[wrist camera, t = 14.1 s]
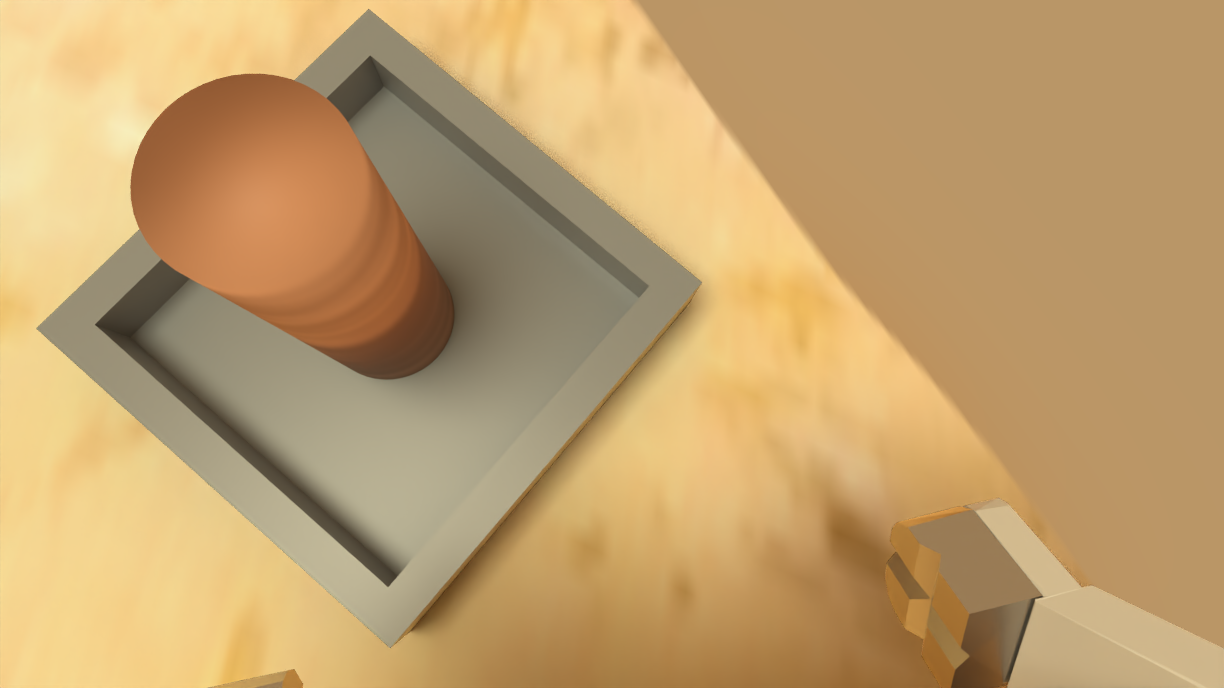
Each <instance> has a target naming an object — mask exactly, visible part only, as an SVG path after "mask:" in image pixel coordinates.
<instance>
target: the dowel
mask: <svg viewBox="0 0 1224 688" xmlns="http://www.w3.org/2000/svg"><path fill="white" fill-rule="evenodd" d="M131 201H132V206H133V212H134V215H135V218H136V221H137V224H138V227H139V229H140V231H141V232H142V234H143V236H144V238H145V240H146V241H147V243H148V244H149V245H150V247H151V248H152V249H153V251H154V252H155V253H156V254H157V255H158V256H159V257H160V258H161V259H162V260H163V261H164V262H165V263H167V264H168V265H169V266H170V267H172V268H173V269H174V270H176V271H178V272H179V273H181V274H183V275H185V276H186V277H188V278H190V279H192V280H193V281H195V282H197V283H199V284H201V285H202V286H204V287H206V288H208V289H209V290H211V291H213V292H215V293H217V294H218V295H220V296H222V297H224V298H225V299H227V300H229V301H231V302H233V303H234V304H236V305H238V306H240V307H241V308H243V309H245V310H247V311H249V312H250V313H252V314H254V315H256V316H257V317H259V318H261V319H263V320H265V321H266V322H268V323H270V324H272V325H273V326H275V327H277V328H279V329H281V330H282V331H284V332H286V333H288V334H289V335H291V336H293V337H295V338H297V339H298V340H300V341H302V342H304V343H305V344H307V345H309V346H311V347H313V348H314V349H316V350H318V351H320V352H321V353H323V354H325V355H327V356H328V357H330V358H332V359H334V360H336V361H337V362H339V363H341V364H343V365H344V366H346V367H348V368H350V369H352V370H353V371H355V372H357V373H359V374H361V375H364V376H366V377H370V378H374V379H383V380H389V379H399V378H403V377H407V376H410V375H412V374H415V373H417V372H419V371H421V370H422V369H424V368H426V367H427V366H428V365H429V364H431V363H432V362H433V361H434V360H435V359H436V358H437V357H438V356H439V355H440V353H441V352H442V351H443V349H444V348H445V346H446V344H447V343H448V340H449V338H450V336H451V333H452V329H453V324H454V304H453V300H452V296H451V293H450V291H449V288H448V286H447V285H446V283H445V281H444V280H443V278H442V276H441V275H440V273H439V271H438V270H437V268H436V267H435V265H434V263H433V262H432V260H431V258H430V257H429V255H428V253H427V252H426V250H425V248H424V247H423V245H422V243H421V242H420V240H419V239H418V237H417V235H416V234H415V232H414V230H413V229H412V227H411V225H410V224H409V222H408V220H407V219H406V217H405V216H404V214H403V212H402V211H401V209H400V207H399V206H398V204H397V202H396V201H395V199H394V197H393V196H392V194H391V193H390V191H389V189H388V188H387V186H386V184H385V183H384V181H383V179H382V178H381V176H380V174H379V173H378V171H377V169H376V168H375V166H374V165H373V163H372V161H371V160H370V158H369V156H368V155H367V153H366V151H365V150H364V148H363V146H362V145H361V143H360V142H359V140H358V138H357V137H356V135H355V133H354V132H353V130H352V128H351V127H350V125H349V123H348V122H347V120H346V119H345V118H344V116H343V115H342V114H341V112H340V111H339V110H338V109H337V108H336V107H335V106H334V105H333V104H332V103H331V102H330V101H329V100H328V99H326V98H325V97H324V96H322V95H321V94H320V93H318V92H317V91H315V90H313V89H311V88H310V87H308V86H306V85H304V84H302V83H299V82H296V81H294V80H291V79H288V78H284V77H280V76H275V75H267V74H241V75H233V76H228V77H224V78H220V79H216V80H213V81H211V82H208V83H205V84H203V85H201V86H199V87H197V88H195V89H193V90H191V91H189V92H187V93H186V94H184V95H183V96H181V97H180V98H178V99H177V100H176V101H175V102H173V103H172V104H171V105H170V106H169V107H167V108H166V109H165V110H164V111H163V112H162V114H161V115H160V116H159V117H158V118H157V119H156V120H155V121H154V123H153V124H152V126H151V127H150V128H149V130H148V131H147V133H146V135H145V137H144V138H143V140H142V142H141V144H140V146H139V149H138V152H137V154H136V157H135V160H134V165H133V169H132V175H131Z"/></svg>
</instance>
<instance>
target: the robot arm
mask: <svg viewBox="0 0 1224 688" xmlns="http://www.w3.org/2000/svg"><path fill="white" fill-rule="evenodd" d="M890 542H891V544H892V545H893V547H894V548H895V550H896V553H895V554H894V555H893V556H892V557H891V558H890V559H889V560H888V562H887V563H886V573H885V582H886V587H887V591H888V596H889V599H890V602H891V604H892V607H893V609H894V611H895V613H896V615H897V617H898V618H899V620H900V622H901V624H902V625H903V627H904V629H906V630H908V631H909V632H911V633H913V634H915V635H916V636H918V637H920V638H921V639H923V648H922V658H923V660H924V661H925V663H926V665H927V666H928V668H929V669H930V671H931V673H932V674H933V676H934V677H935V679H936V681H937V682H938V684H939V685H940V687H941V688H996V687H1000V686H1005V685H1008V686H1007V688H1224V648H1222V647H1220V646H1218V645H1216V644H1214V643H1212V642H1210V641H1208V640H1206V639H1204V638H1202V637H1199V636H1197V635H1195V634H1193V633H1191V632H1189V631H1187V630H1185V629H1183V628H1180V627H1179V626H1177V625H1174V624H1172V623H1170V622H1168V621H1166V620H1164V619H1162V618H1160V617H1158V616H1156V615H1154V614H1152V613H1149V612H1147V611H1145V610H1143V609H1141V608H1139V607H1137V606H1135V605H1133V604H1131V603H1129V602H1126V601H1125V600H1122V599H1120V598H1118V597H1116V596H1114V595H1112V594H1110V593H1108V592H1106V591H1104V590H1102V589H1100V588H1097V587H1095V586H1093V585H1089V586H1085V587H1081V585H1080V584H1079V583H1078V582H1077V581H1076V580H1075V579H1074V578H1073V576H1072V575H1071V574H1070V573H1069V572H1068V571H1067V570H1066V568H1065V567H1064V566H1063V565H1062V564H1061V563H1060V562H1059V561H1058V559H1057V558H1056V557H1055V556H1054V555H1053V554H1052V553H1051V552H1050V550H1049V549H1048V548H1047V547H1046V546H1045V545H1044V544H1043V542H1042V541H1041V540H1040V539H1039V538H1038V537H1037V536H1036V535H1035V533H1034V532H1033V531H1032V530H1031V529H1030V528H1029V527H1028V525H1027V524H1026V523H1025V522H1024V521H1023V520H1022V519H1021V518H1020V516H1019V515H1018V514H1017V513H1016V512H1015V511H1014V510H1013V508H1012V507H1011V506H1010V505H1009V504H1008V503H1007V502H1005V501H1003V500H1002V499H1000V498H995V499H990V500H986V501H982V502H978V503H974V504H970V505H966V506H963V507H961V506H958V507H954V508H950V509H946V510H943V511H939V512H935V513H931V514H927V515H923V516H919V517H915V518H911V519H908V520H904V521H900V522H897V523H896V524H895V525H894V527H893V528H892V531H891V537H890ZM208 688H303V683H302V681H301V679H300V678H299V676H298V675H297V673H296V671H295V670H294V669H292V670H288V671H283V672H278V673H274V674H269V675H264V676H260V677H255V678H251V679H246V680H241V681H237V682H232V683H228V684H223V685H218V686H214V687H208Z"/></svg>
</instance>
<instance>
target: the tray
mask: <svg viewBox="0 0 1224 688" xmlns="http://www.w3.org/2000/svg"><path fill="white" fill-rule="evenodd" d="M294 81H296V82H299V83H302V84H304V85H306V86H308V87H310V88H311V89H313V90H315V91H317V92H318V93H320V94H321V95H322V96H324V97H325V98H326V99H328V100H329V101H330V102H331V103H332V104H333V105H334V106H335V107H336V108H337V109H338V110H339V111H340V112H341V114H342V115H343V116H344V118H345V119H346V120H347V122H348V123H349V125H350V127H351V128H352V130H353V132H354V133H355V135H356V137H357V138H358V140H359V142H360V143H361V145H362V146H363V148H364V150H365V151H366V153H367V155H368V156H369V158H370V160H371V161H372V163H373V165H374V166H375V168H376V169H377V171H378V173H379V174H380V176H381V178H382V179H383V181H384V183H385V184H386V186H387V188H388V189H389V191H390V193H391V194H392V196H393V197H394V199H395V201H396V202H397V204H398V206H399V207H400V209H401V211H402V212H403V214H404V216H405V217H406V219H407V220H408V222H409V224H410V225H411V227H412V229H413V230H414V232H415V234H416V235H417V237H418V239H419V240H420V242H421V243H422V245H423V247H424V248H425V250H426V252H427V253H428V255H429V257H430V258H431V260H432V262H433V263H434V265H435V267H436V268H437V270H438V271H439V273H440V275H441V276H442V278H443V280H444V281H445V283H446V285H447V286H448V288H449V291H450V293H451V296H452V300H453V304H454V324H453V329H452V333H451V336H450V338H449V340H448V343H447V344H446V346H445V348H444V349H443V351H442V352H441V353H440V355H439V356H438V357H437V358H436V359H435V360H434V361H433V362H432V363H431V364H429V365H428V366H427V367H426V368H424V369H422V370H421V371H419V372H417V373H415V374H412V375H410V376H407V377H403V378H399V379H389V380H383V379H374V378H370V377H366V376H364V375H361V374H359V373H357V372H355V371H353V370H352V369H350V368H348V367H346V366H344V365H343V364H341V363H339V362H337V361H336V360H334V359H332V358H330V357H328V356H327V355H325V354H323V353H321V352H320V351H318V350H316V349H314V348H313V347H311V346H309V345H307V344H305V343H304V342H302V341H300V340H298V339H297V338H295V337H293V336H291V335H289V334H288V333H286V332H284V331H282V330H281V329H279V328H277V327H275V326H273V325H272V324H270V323H268V322H266V321H265V320H263V319H261V318H259V317H257V316H256V315H254V314H252V313H250V312H249V311H247V310H245V309H243V308H241V307H240V306H238V305H236V304H234V303H233V302H231V301H229V300H227V299H225V298H224V297H222V296H220V295H218V294H217V293H215V292H213V291H211V290H209V289H208V288H206V287H204V286H202V285H201V284H199V283H197V282H195V281H193V280H192V279H190V278H188V277H186V276H185V275H183V274H181V273H179V272H178V271H176V270H174V269H173V268H172V267H170V266H169V265H168V264H167V263H165V262H164V261H163V260H162V259H161V258H160V257H159V256H158V255H157V254H156V253H155V252H154V251H153V249H152V248H151V247H150V245H149V244H148V243H147V241H146V240H145V238H144V236H143V234H142V232H141V231H140V229H139V230H138V231H137V232H136V233H135V234H134V235H133V236H132V237H131V238H130V239H129V240H128V241H127V242H126V243H125V244H124V245H123V246H122V247H120V248H119V249H118V250H117V251H116V252H115V253H114V254H113V255H112V256H111V257H110V258H109V259H108V260H107V261H106V262H105V263H104V264H103V265H102V266H101V267H100V268H99V269H98V270H97V271H95V272H94V273H93V274H92V275H91V276H90V277H89V278H88V279H87V280H86V281H85V282H84V283H83V284H82V285H81V286H80V287H79V288H78V289H77V290H76V291H75V292H74V293H73V294H72V295H71V296H69V297H68V298H67V299H66V300H65V301H64V302H63V303H62V304H61V305H60V306H59V307H58V308H57V309H56V310H55V311H54V312H53V313H52V314H51V315H50V316H49V317H48V318H47V319H46V320H44V321H43V322H42V323H41V324H40V325H39V326H38V327H37V328H36V329H37V330H38V331H40V332H41V333H42V334H43V335H44V336H45V337H46V338H47V339H48V340H49V341H51V342H52V343H53V344H54V345H55V346H56V347H57V348H58V349H59V350H61V351H62V352H63V353H64V354H65V355H66V356H67V357H68V358H69V359H71V360H72V361H73V362H74V363H75V364H76V365H77V366H78V367H79V368H80V369H82V370H83V371H84V372H85V373H86V374H87V375H88V376H89V377H90V378H92V379H93V380H94V381H95V382H96V383H97V384H98V385H99V386H100V387H101V388H103V389H104V390H105V391H106V392H107V393H108V394H109V395H110V396H111V397H113V398H114V399H115V400H116V401H117V402H118V403H119V404H120V405H121V406H123V407H124V408H125V409H126V410H127V411H128V412H129V413H130V414H131V415H132V416H134V417H135V418H136V419H137V420H138V421H139V422H140V423H141V424H142V425H144V426H145V427H146V428H147V429H148V430H149V431H150V432H151V433H152V434H154V435H155V436H156V437H157V438H158V439H159V440H160V441H161V442H162V443H163V444H165V445H166V446H167V447H168V448H169V449H170V450H171V451H172V452H173V453H175V454H176V455H177V456H178V457H179V458H180V459H181V460H182V461H183V462H185V463H186V464H187V465H188V466H189V467H190V468H191V469H192V470H193V471H194V472H196V473H197V474H198V475H199V476H200V477H201V478H202V479H203V480H204V481H206V482H207V483H208V484H209V485H210V486H211V487H212V488H213V489H214V490H216V491H217V492H218V493H219V494H220V495H221V496H222V497H223V498H224V499H225V500H227V501H228V502H229V503H230V504H231V505H232V506H233V507H234V508H235V509H237V510H238V511H239V512H240V513H241V514H242V515H243V516H244V517H245V518H246V519H248V520H249V521H250V522H251V523H252V524H253V525H254V526H255V527H256V528H258V529H259V530H260V531H261V532H262V533H263V534H264V535H265V536H266V537H268V538H269V539H270V540H271V541H272V542H273V543H274V544H275V545H276V546H277V547H279V548H280V549H281V550H282V551H283V552H284V553H285V554H286V555H287V556H289V557H290V558H291V559H292V560H293V561H294V562H295V563H296V564H297V565H299V566H300V567H301V568H302V569H303V570H304V571H305V572H306V573H307V574H308V575H310V576H311V577H312V578H313V579H314V580H315V581H316V582H317V583H318V584H320V585H321V586H322V587H323V588H324V589H325V590H326V591H327V592H328V593H330V594H331V595H332V596H333V597H334V598H335V599H336V600H337V601H338V602H339V603H341V604H342V605H343V606H344V607H345V608H346V609H347V610H348V611H349V612H351V613H352V614H353V615H354V616H355V617H356V618H357V619H358V620H359V621H360V622H362V623H363V624H364V625H365V626H366V627H367V628H368V629H369V630H370V631H372V632H373V633H374V634H375V635H376V636H377V637H378V638H379V639H380V640H382V641H383V642H384V643H385V644H386V645H387V646H388V647H389V648H391V647H392V646H394V645H395V644H396V643H397V642H398V641H400V640H401V639H402V638H403V637H404V636H405V635H407V634H408V633H409V632H410V631H411V630H412V629H413V628H414V626H415V625H416V624H417V623H418V622H419V620H420V619H421V618H422V617H423V616H424V615H425V613H426V612H427V611H428V610H429V609H430V608H431V606H432V605H433V604H434V603H435V602H436V600H437V599H438V598H439V597H440V596H441V595H442V593H443V592H444V591H445V590H446V589H447V588H448V586H449V585H450V584H451V583H452V582H453V580H454V579H455V578H456V577H457V576H458V575H459V573H460V572H461V571H462V570H463V569H464V568H465V566H466V565H467V564H468V563H469V562H470V561H471V559H472V558H473V557H474V556H475V555H476V553H477V552H478V551H479V550H480V549H481V548H482V546H483V545H484V544H485V543H486V542H487V541H488V539H489V538H490V537H491V536H492V535H493V533H494V532H495V531H496V530H497V529H498V528H499V526H500V525H501V524H502V523H503V522H504V521H505V519H506V518H507V517H508V516H509V515H510V513H511V512H512V511H513V510H514V509H515V508H516V506H517V505H518V504H519V503H520V502H521V501H522V499H523V498H524V497H525V496H526V495H527V494H528V492H529V491H530V490H531V489H532V488H533V486H534V485H535V484H536V483H537V482H538V481H539V479H540V478H541V477H542V476H543V475H544V474H545V472H546V471H547V470H548V469H549V468H550V466H551V465H552V464H553V463H554V462H555V461H556V459H557V458H558V457H559V456H560V455H561V454H562V452H563V451H564V450H565V449H566V448H567V447H568V445H569V444H570V443H571V442H572V441H573V439H574V438H575V437H576V436H577V435H578V434H579V432H580V431H581V430H582V429H583V428H584V427H585V425H586V424H587V423H588V422H589V421H590V419H591V418H592V417H593V416H594V415H595V414H596V412H597V411H598V410H599V409H600V408H601V407H602V405H603V404H604V403H605V402H606V401H607V399H608V398H609V397H610V396H611V395H612V394H613V392H614V391H615V390H616V389H617V388H618V387H619V385H620V384H621V383H622V382H623V381H624V380H625V378H626V377H627V376H628V375H629V374H630V372H631V371H632V370H633V369H634V368H635V367H636V365H637V364H638V363H639V362H640V361H641V360H642V358H643V357H644V356H645V355H646V354H647V352H648V351H649V350H650V349H651V348H652V347H653V345H654V344H655V343H656V342H657V341H658V340H659V338H660V337H661V336H662V335H663V334H664V332H665V331H666V330H667V329H668V328H669V327H670V325H671V324H672V323H673V322H674V321H675V320H676V318H677V317H678V316H679V315H680V314H681V313H682V311H683V310H684V309H685V308H686V307H687V305H688V304H689V303H690V301H691V299H692V298H693V296H694V295H695V293H696V291H697V290H698V288H699V287H700V285H701V283H702V282H701V281H700V280H698V279H697V278H696V277H695V276H694V275H692V274H691V273H690V272H689V271H688V270H686V269H685V268H684V267H683V266H681V265H680V264H679V263H678V262H677V261H675V260H674V259H673V258H672V257H670V256H669V255H668V254H667V253H666V252H664V251H663V250H662V249H661V248H659V247H658V246H657V245H656V244H655V243H653V242H652V241H651V240H650V239H649V238H647V237H646V236H645V235H644V234H642V233H641V232H640V231H639V230H638V229H636V228H635V227H634V226H633V225H631V224H630V223H629V222H628V221H627V220H625V219H624V218H623V217H622V216H620V215H619V214H618V213H617V212H616V211H614V210H613V209H612V208H611V207H610V206H608V205H607V204H606V203H605V202H603V201H602V200H601V199H600V198H599V197H597V196H596V195H595V194H594V193H592V192H591V191H590V190H589V189H588V188H586V187H585V186H584V185H583V184H581V183H580V182H579V181H578V180H577V179H575V178H574V177H573V176H572V175H571V174H569V173H568V172H567V171H566V170H564V169H563V168H562V167H561V166H560V165H558V164H557V163H556V162H555V161H553V160H552V159H551V158H550V157H549V156H547V155H546V154H545V153H544V152H542V151H541V150H540V149H539V148H538V147H536V146H535V145H534V144H533V143H532V142H530V141H529V140H528V139H527V138H525V137H524V136H523V135H522V134H521V133H519V132H518V131H517V130H516V129H514V128H513V127H512V126H511V125H510V124H508V123H507V122H506V121H505V120H503V119H502V118H501V117H500V116H499V115H497V114H496V113H495V112H494V111H493V110H491V109H490V108H489V107H488V106H486V105H485V104H484V103H483V102H482V101H480V100H479V99H478V98H477V97H475V96H474V95H473V94H472V93H471V92H469V91H468V90H467V89H466V88H465V87H463V86H462V85H461V84H460V83H458V82H457V81H456V80H455V79H454V78H452V77H451V76H450V75H449V74H447V73H446V72H445V71H444V70H443V69H441V68H440V67H439V66H438V65H436V64H435V63H434V62H433V61H432V60H430V59H429V58H428V57H427V56H426V55H424V54H423V53H422V52H421V51H419V50H418V49H417V48H416V47H415V46H413V45H412V44H411V43H410V42H408V41H407V40H406V39H405V38H404V37H402V36H401V35H400V34H399V33H397V32H396V31H395V30H394V29H393V28H391V27H390V26H389V25H388V24H387V23H385V22H384V21H383V20H382V19H380V18H379V17H378V16H377V15H376V14H374V13H373V12H372V11H371V10H369V9H368V10H367V11H366V12H365V13H364V14H363V15H362V16H361V17H360V18H359V19H358V20H357V21H356V22H355V23H354V24H353V25H351V26H350V27H349V28H348V29H347V30H346V31H345V32H344V33H343V34H342V35H341V36H340V37H339V38H338V39H337V40H336V41H335V42H334V43H333V44H332V45H331V46H330V47H329V48H328V49H327V50H325V51H324V52H323V53H322V54H321V55H320V56H319V57H318V58H317V59H316V60H315V61H314V62H313V63H312V64H311V65H310V66H309V67H308V68H307V69H306V70H305V71H304V72H303V73H302V74H300V75H299V76H298V77H297V78H296V79H295V80H294Z"/></svg>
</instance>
